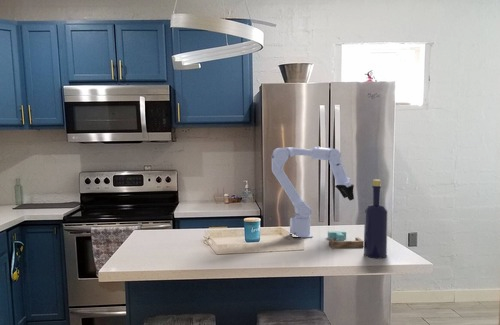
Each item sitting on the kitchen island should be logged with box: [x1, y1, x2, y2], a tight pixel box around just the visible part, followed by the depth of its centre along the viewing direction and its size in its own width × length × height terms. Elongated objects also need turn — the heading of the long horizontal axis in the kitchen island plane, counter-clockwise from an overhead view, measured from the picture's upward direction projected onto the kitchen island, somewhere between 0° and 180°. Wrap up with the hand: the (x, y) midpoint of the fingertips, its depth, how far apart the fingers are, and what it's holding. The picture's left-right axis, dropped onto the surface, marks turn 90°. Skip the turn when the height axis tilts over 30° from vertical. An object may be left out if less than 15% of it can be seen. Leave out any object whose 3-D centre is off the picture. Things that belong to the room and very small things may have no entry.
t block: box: [327, 230, 347, 241], centre depth 170 cm, size 8×8×3 cm
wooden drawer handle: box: [328, 237, 364, 249], centre depth 160 cm, size 13×6×2 cm, turn 95°
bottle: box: [363, 179, 389, 259], centre depth 146 cm, size 9×9×30 cm
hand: (348, 198), depth 178 cm, fingers open, 7 cm apart
